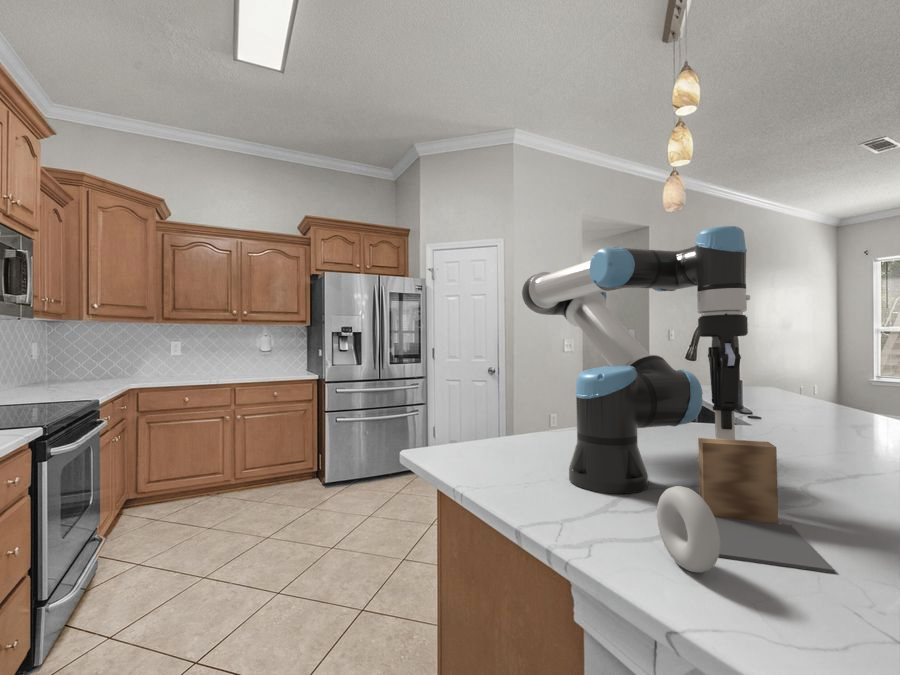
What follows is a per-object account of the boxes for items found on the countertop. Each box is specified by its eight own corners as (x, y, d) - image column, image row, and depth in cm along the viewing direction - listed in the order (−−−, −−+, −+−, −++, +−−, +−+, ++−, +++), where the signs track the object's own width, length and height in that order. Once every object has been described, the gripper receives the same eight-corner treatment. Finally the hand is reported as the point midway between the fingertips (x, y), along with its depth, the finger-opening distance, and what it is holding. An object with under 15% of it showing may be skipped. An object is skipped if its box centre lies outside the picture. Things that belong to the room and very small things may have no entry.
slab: (704, 517, 71) (702, 442, 71) (699, 508, 74) (698, 437, 75) (778, 525, 67) (776, 447, 67) (769, 515, 71) (768, 441, 71)
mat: (711, 555, 58) (711, 552, 58) (694, 516, 71) (694, 514, 71) (834, 573, 53) (834, 569, 53) (791, 527, 66) (791, 525, 66)
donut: (652, 550, 59) (650, 476, 60) (676, 548, 60) (674, 475, 60) (700, 591, 49) (698, 502, 50) (728, 589, 50) (726, 501, 50)
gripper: (757, 311, 71) (761, 457, 70) (737, 316, 83) (740, 440, 83) (705, 313, 74) (708, 453, 73) (692, 317, 86) (695, 438, 85)
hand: (725, 446), depth 78 cm, fingers closed
